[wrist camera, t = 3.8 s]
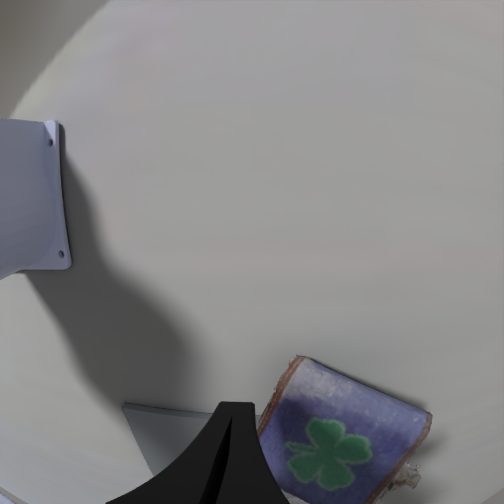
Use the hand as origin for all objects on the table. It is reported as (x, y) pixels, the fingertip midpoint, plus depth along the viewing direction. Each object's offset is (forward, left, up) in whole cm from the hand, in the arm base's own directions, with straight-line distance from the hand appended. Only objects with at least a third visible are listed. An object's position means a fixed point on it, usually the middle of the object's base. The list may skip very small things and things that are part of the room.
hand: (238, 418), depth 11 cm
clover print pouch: (+5, +1, -5) cm, 7 cm away
